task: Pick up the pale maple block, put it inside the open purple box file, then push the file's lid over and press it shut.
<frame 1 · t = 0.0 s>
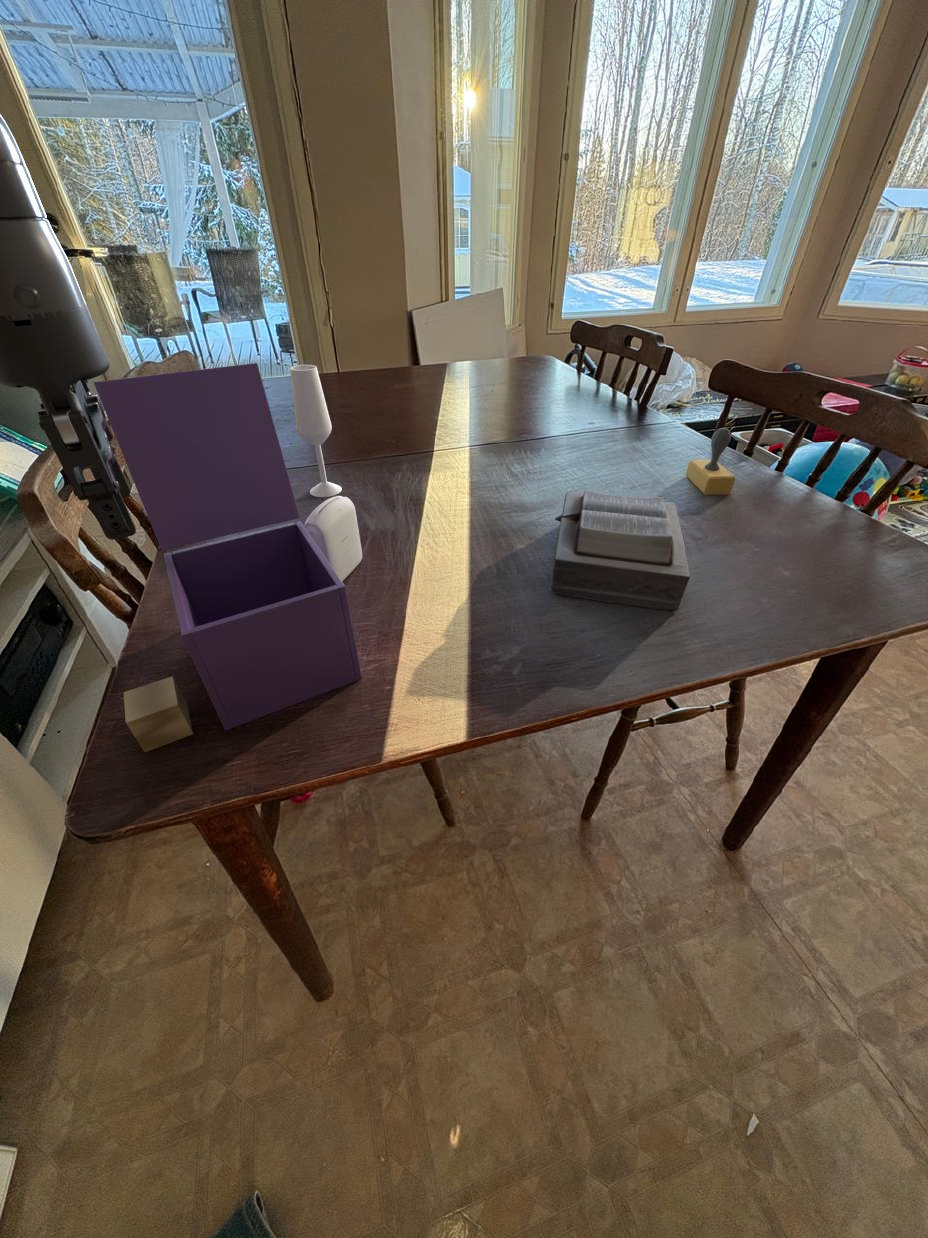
hand: (120, 515, 45), 25 cm above the table, tool pointing down, fingers open, 8 cm apart
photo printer: (340, 573, 84), on the table
block: (167, 728, 59), on the table
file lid: (208, 457, 60), point 24 cm above the table, hinge at 105.0°
rubber stamp: (706, 485, 110), on the table
box file: (278, 660, 67), on the table
bible: (612, 562, 86), on the table
champagne flute: (326, 491, 109), on the table
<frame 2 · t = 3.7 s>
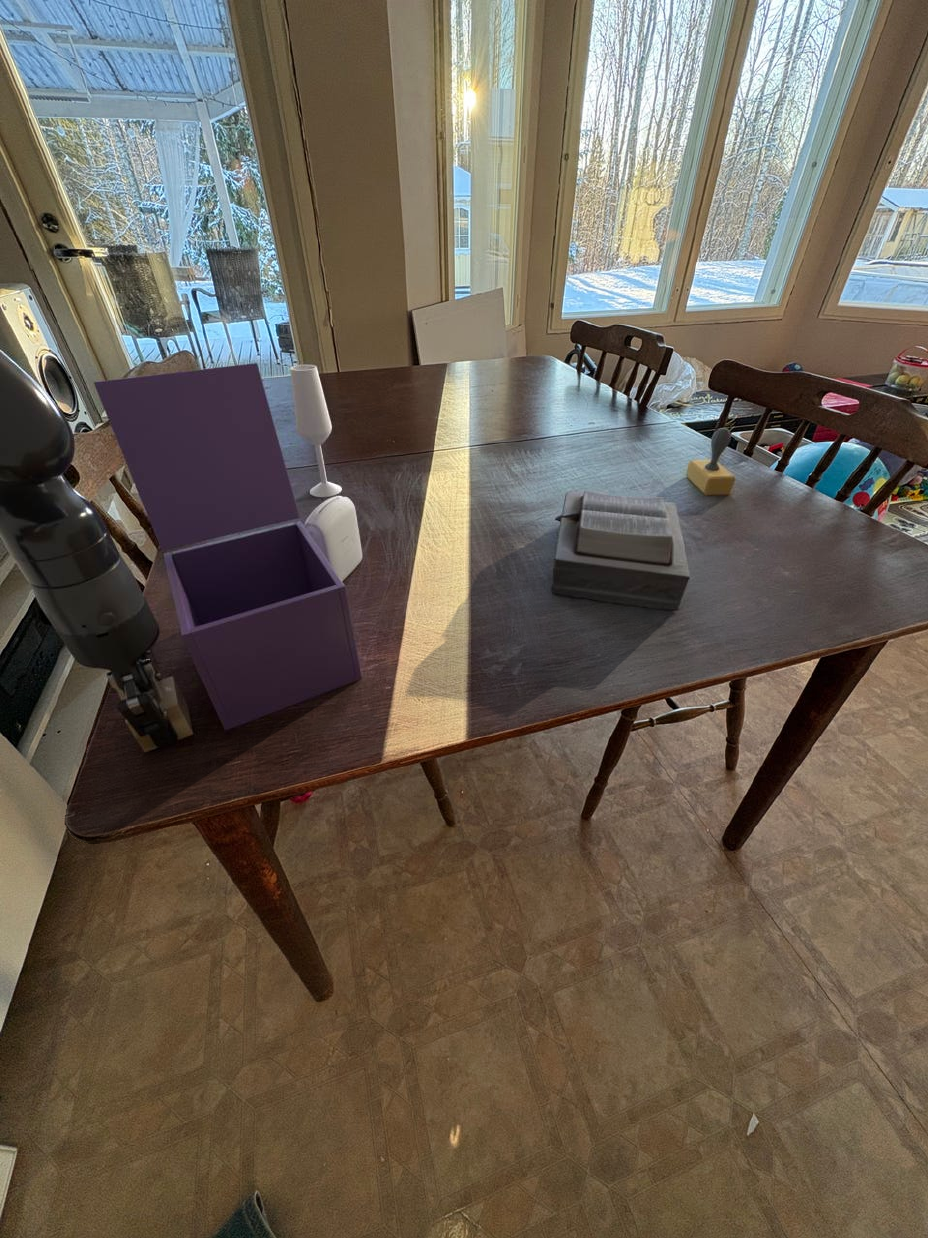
hand: (165, 724, 58), 1 cm above the table, tool pointing down, fingers closed on block, 5 cm apart
block: (167, 728, 59), on the table, touching gripper
everything else where it was.
when the fingers open (1 cm above the table, at t = 13.3 s): block stays where it is, resting on box file.
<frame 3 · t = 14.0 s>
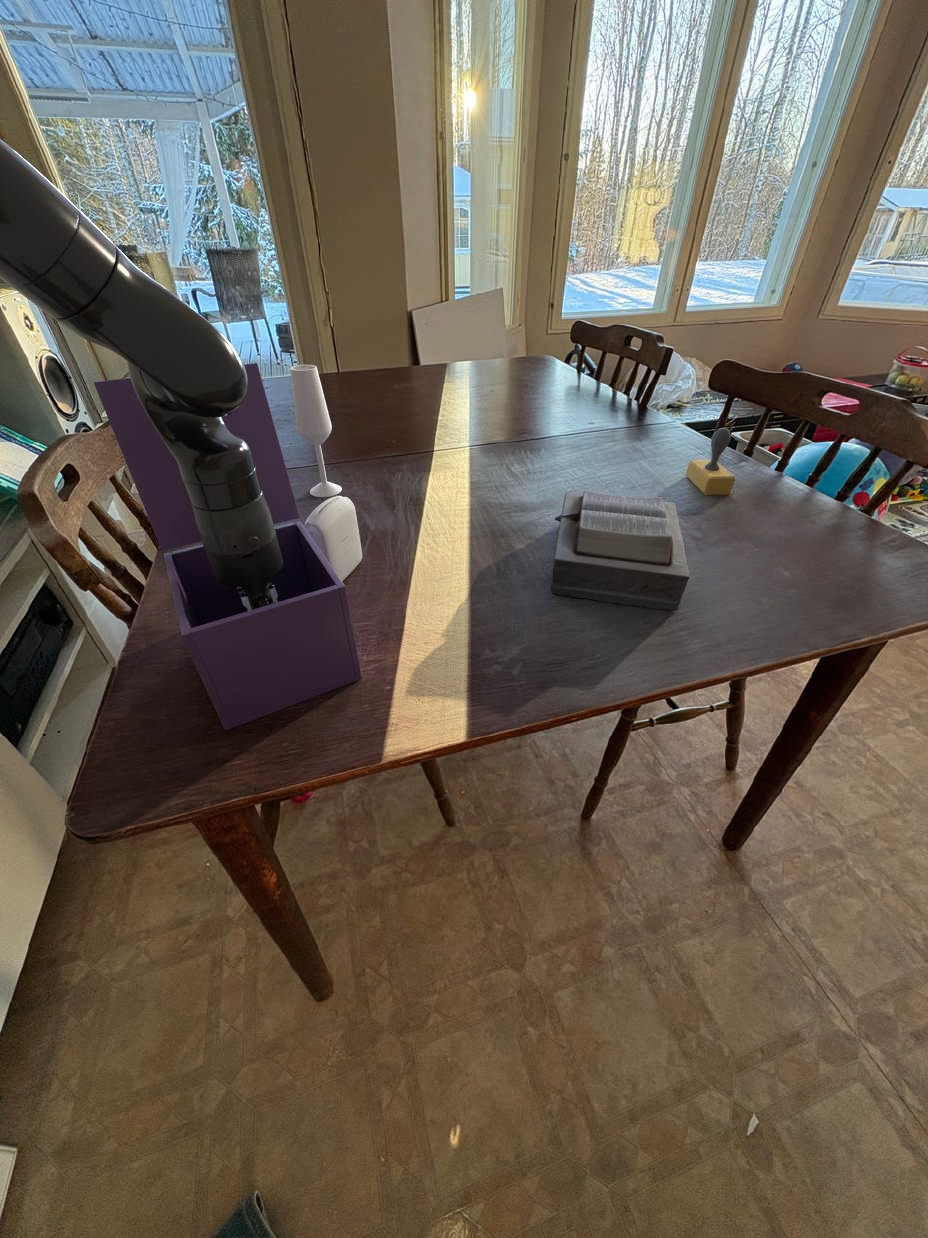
hand: (273, 645, 66), 3 cm above the table, tool pointing down, fingers open, 8 cm apart
block: (278, 655, 67), point 1 cm above the table, touching box file
everything else where it was.
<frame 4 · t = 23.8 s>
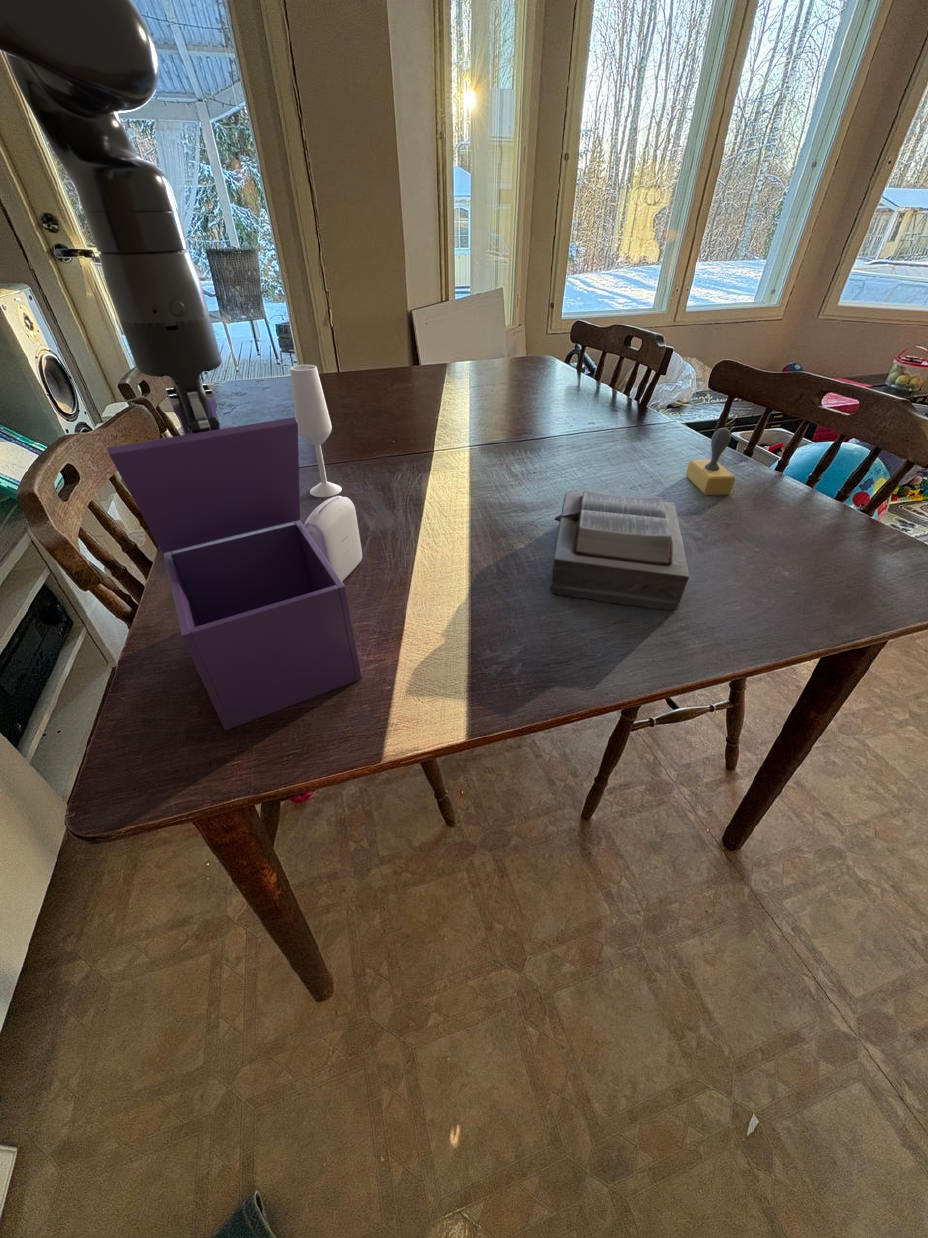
hand: (220, 490, 57), 22 cm above the table, tool pointing down, fingers closed
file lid: (223, 490, 56), point 22 cm above the table, hinge at 56.3°, touching gripper
everything else where it was.
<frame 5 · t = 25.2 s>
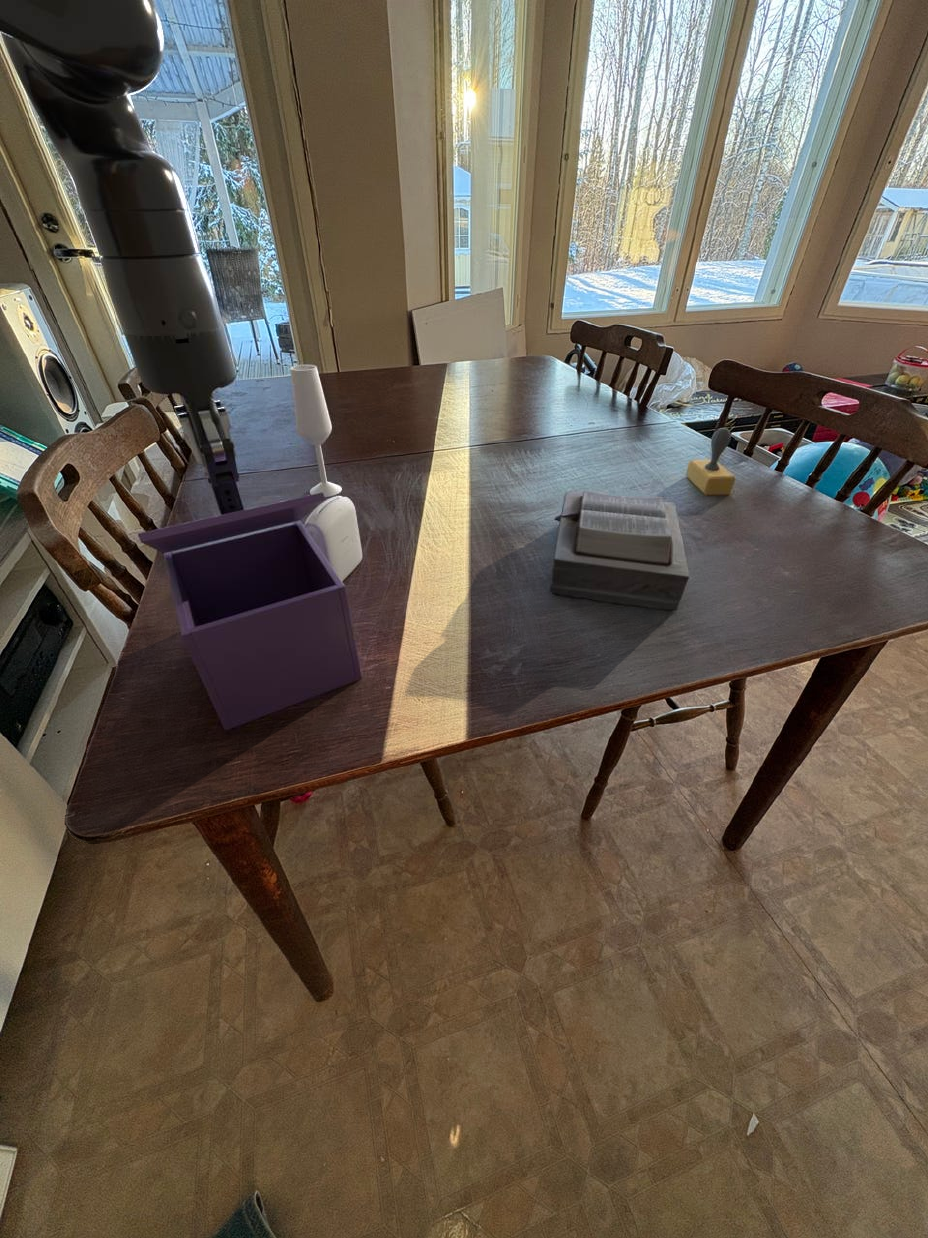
hand: (233, 515, 53), 22 cm above the table, tool pointing down, fingers closed
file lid: (235, 525, 56), point 19 cm above the table, hinge at 30.7°
everything else where it was.
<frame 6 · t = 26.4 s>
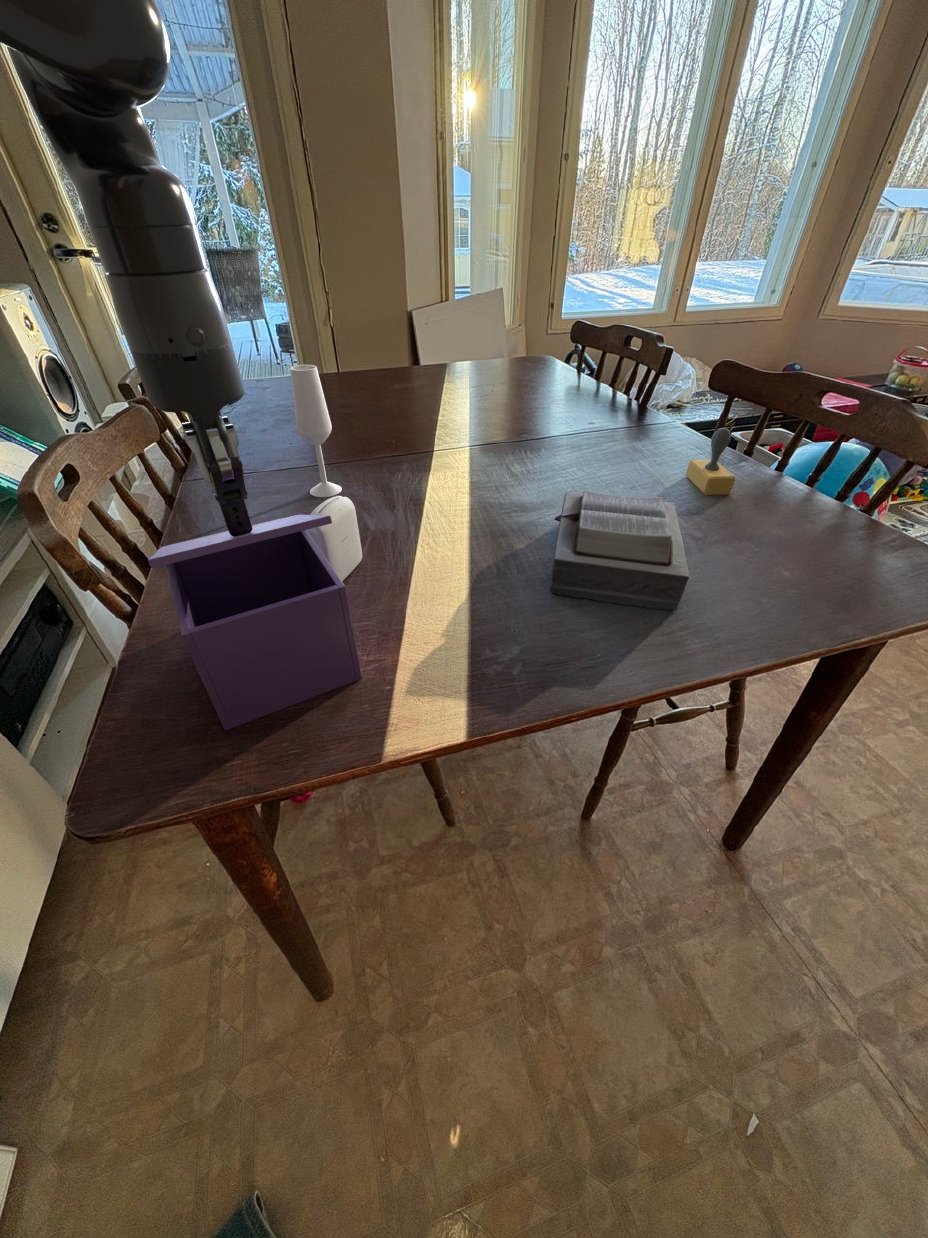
hand: (240, 531, 52), 21 cm above the table, tool pointing down, fingers closed
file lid: (239, 536, 56), point 18 cm above the table, hinge at 23.4°, touching gripper
everything else where it was.
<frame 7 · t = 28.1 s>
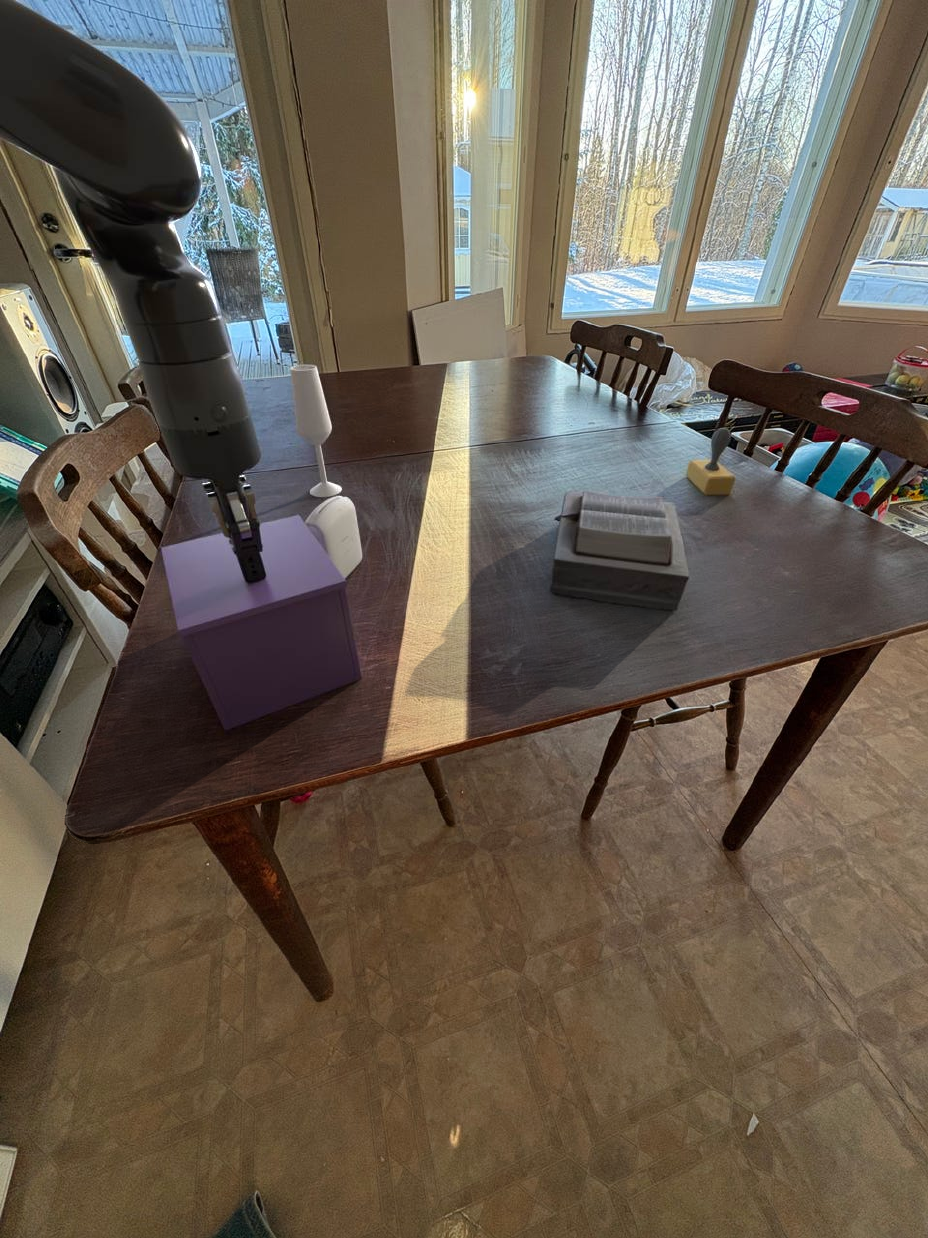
hand: (255, 577, 55), 15 cm above the table, tool pointing down, fingers closed
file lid: (249, 566, 58), point 15 cm above the table, hinge at 1.1°, touching gripper
everything else where it was.
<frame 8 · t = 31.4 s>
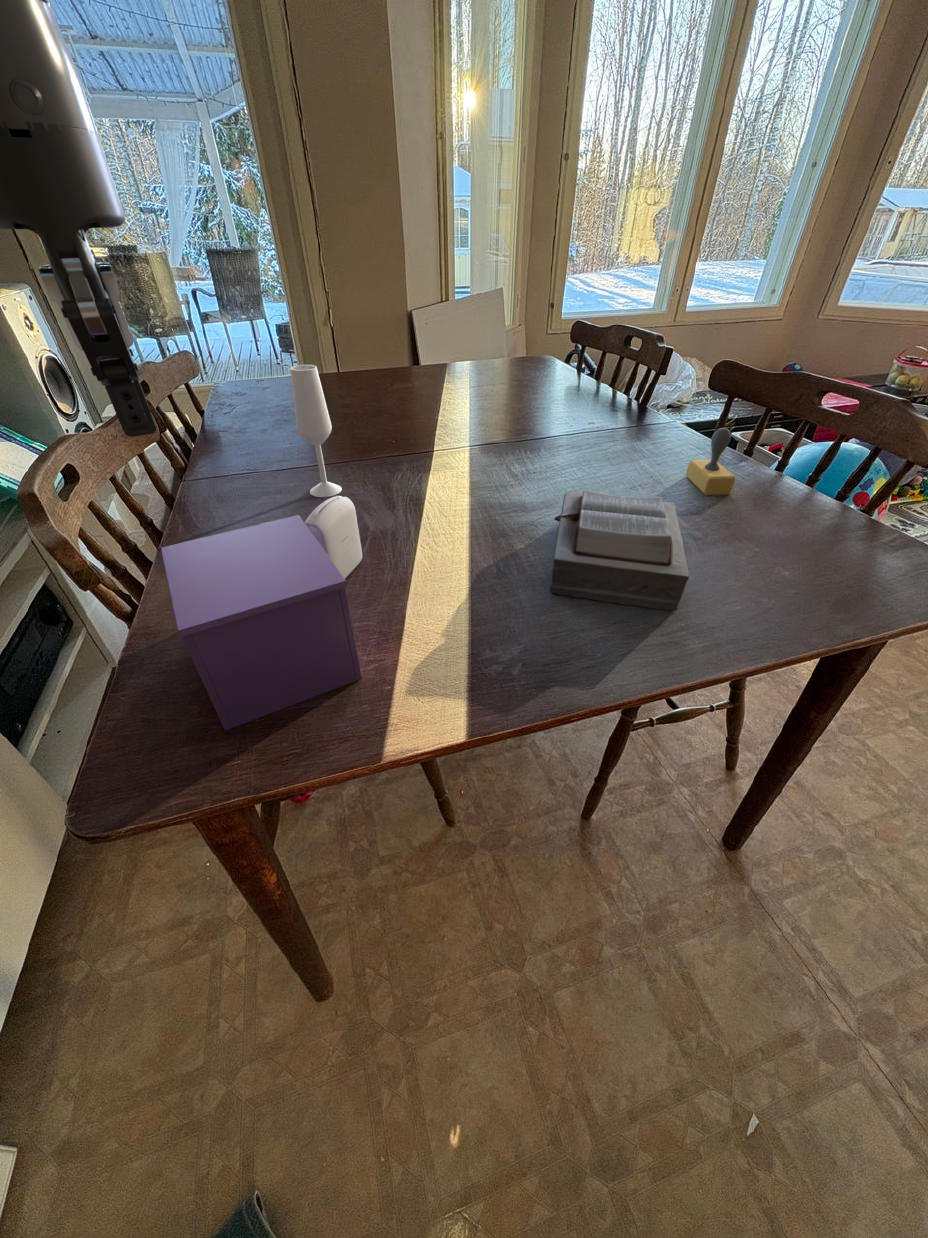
hand: (141, 432, 39), 33 cm above the table, tool pointing down, fingers closed
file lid: (249, 566, 58), point 15 cm above the table, hinge at 1.1°
everything else where it was.
at the end: block inside the target area in the box file (0.1 cm from its centre), point 0.8 cm above the box file's base; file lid at +1° (first picture: +105°) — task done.
